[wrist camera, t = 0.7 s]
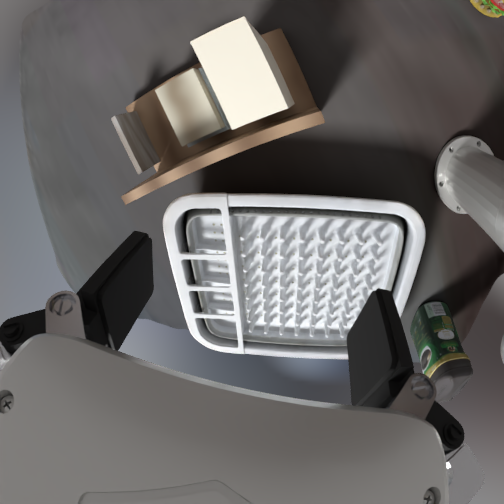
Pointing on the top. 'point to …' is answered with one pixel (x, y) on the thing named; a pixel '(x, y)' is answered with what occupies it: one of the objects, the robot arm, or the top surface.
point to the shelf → (231, 137)
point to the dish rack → (287, 267)
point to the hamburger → (489, 7)
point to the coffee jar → (440, 350)
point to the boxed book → (242, 72)
